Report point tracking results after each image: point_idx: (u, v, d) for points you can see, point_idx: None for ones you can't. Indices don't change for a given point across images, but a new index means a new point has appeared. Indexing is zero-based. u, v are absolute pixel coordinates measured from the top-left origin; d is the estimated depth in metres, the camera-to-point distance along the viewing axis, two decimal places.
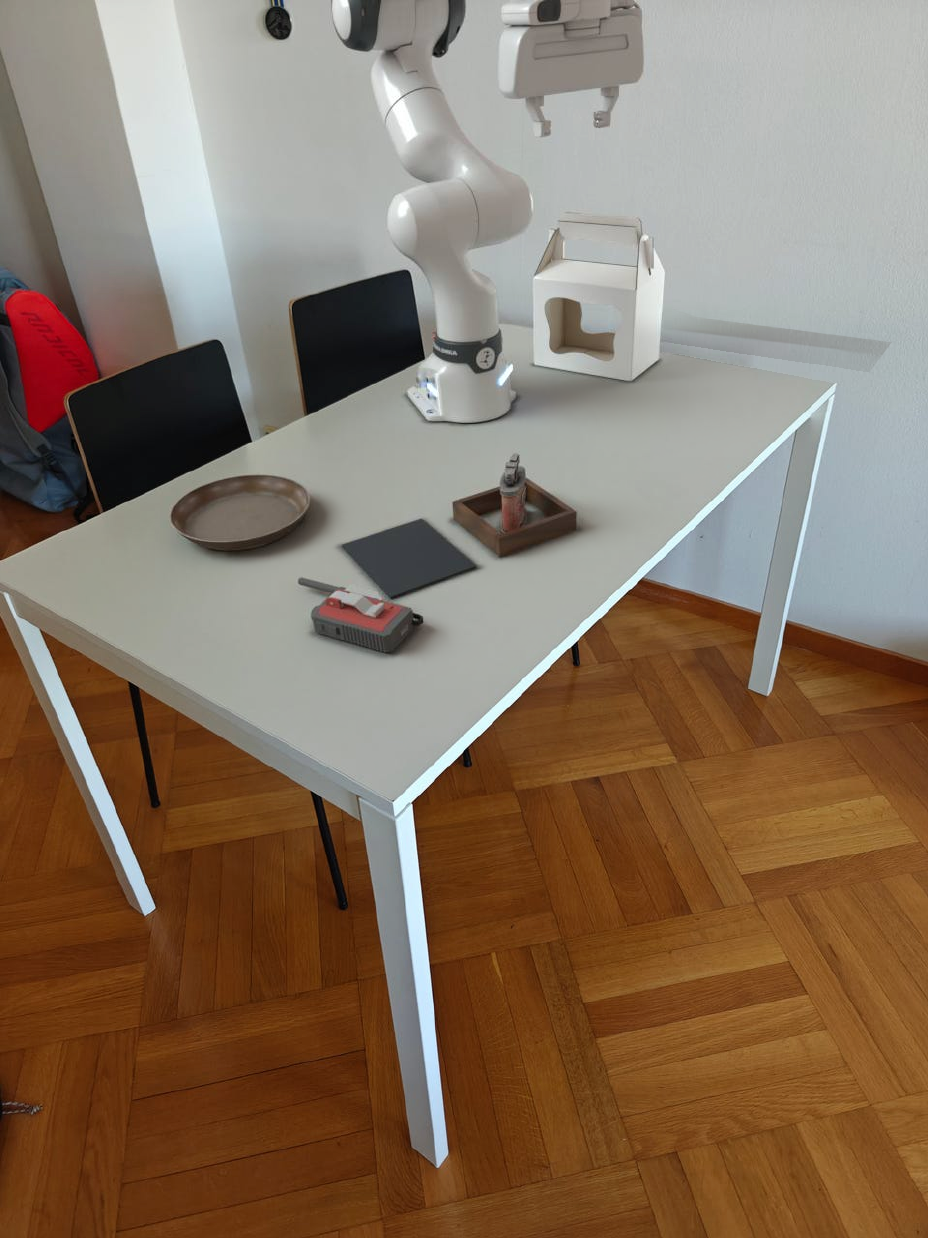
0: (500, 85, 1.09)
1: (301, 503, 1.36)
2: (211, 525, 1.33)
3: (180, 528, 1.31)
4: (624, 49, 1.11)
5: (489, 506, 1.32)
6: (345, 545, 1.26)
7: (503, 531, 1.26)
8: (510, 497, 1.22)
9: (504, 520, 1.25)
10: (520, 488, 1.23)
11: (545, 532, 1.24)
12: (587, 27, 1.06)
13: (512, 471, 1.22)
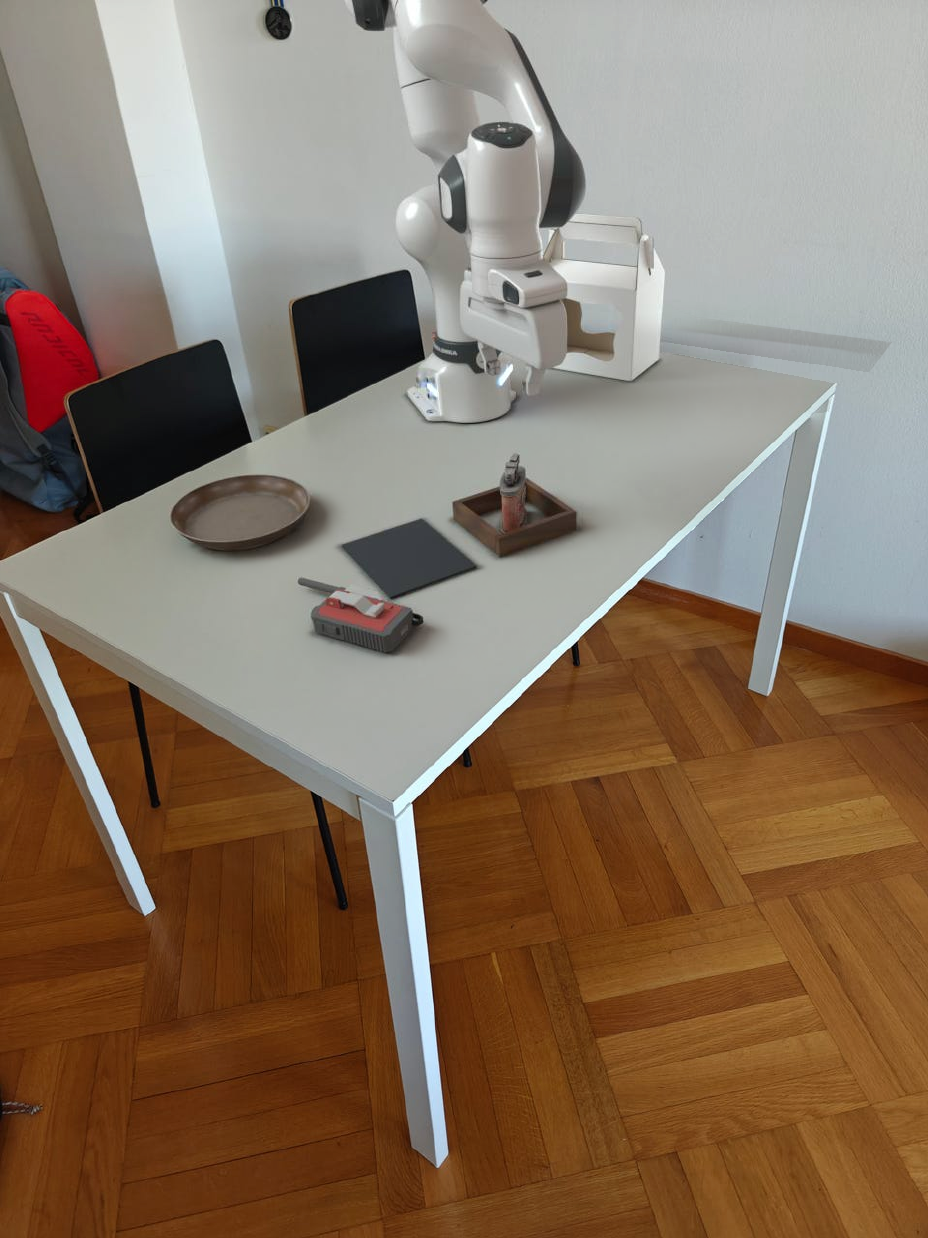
0: (546, 360, 1.06)
1: (301, 503, 1.36)
2: (211, 525, 1.33)
3: (180, 528, 1.31)
4: None
5: (489, 506, 1.32)
6: (345, 545, 1.26)
7: (503, 531, 1.26)
8: (510, 497, 1.22)
9: (504, 520, 1.25)
10: (520, 488, 1.23)
11: (545, 532, 1.24)
12: None
13: (512, 471, 1.22)
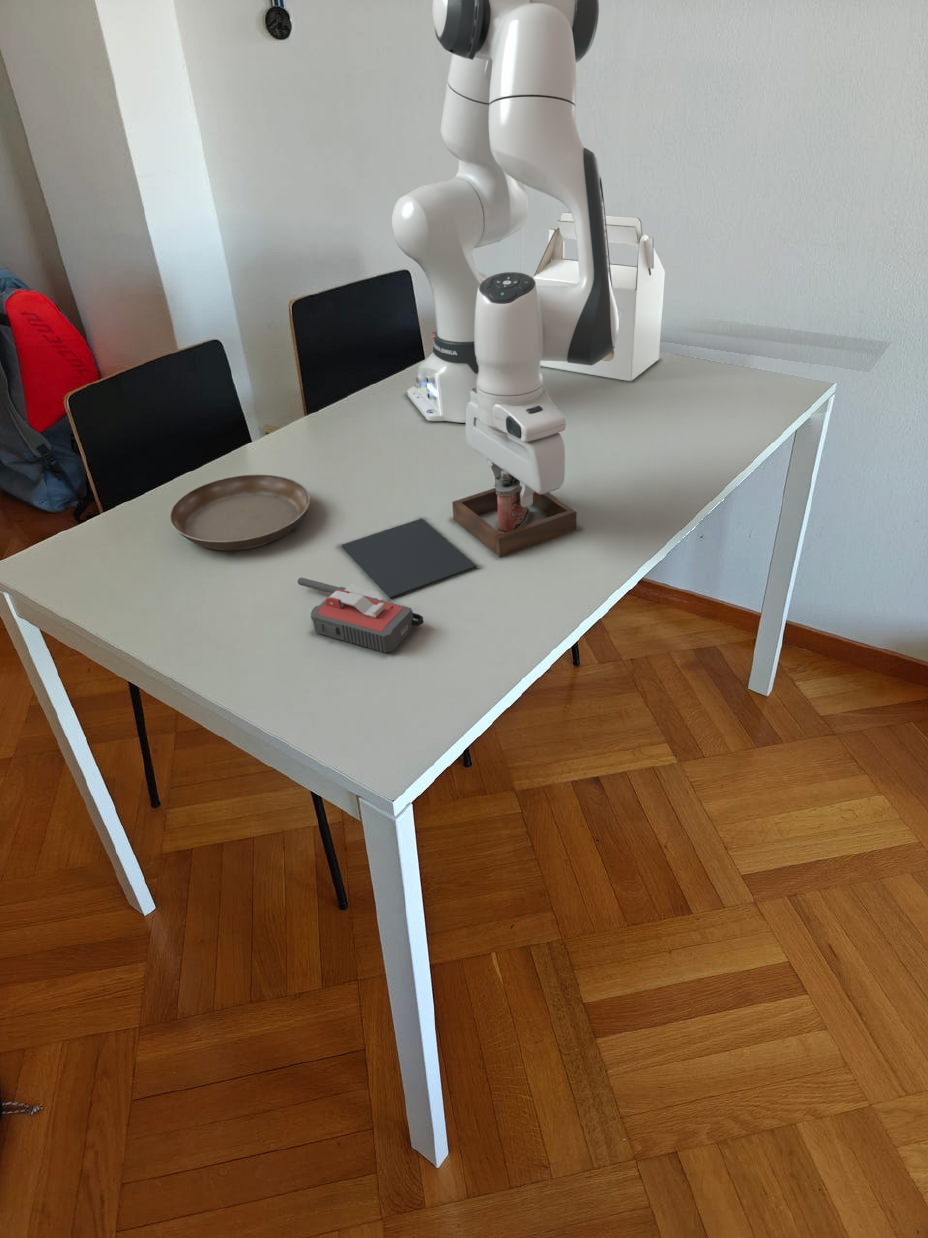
0: (545, 487, 1.15)
1: (301, 503, 1.36)
2: (211, 525, 1.33)
3: (180, 528, 1.31)
4: None
5: (489, 506, 1.32)
6: (345, 545, 1.26)
7: (498, 530, 1.26)
8: (504, 496, 1.23)
9: (499, 519, 1.25)
10: (516, 489, 1.23)
11: (545, 532, 1.24)
12: None
13: None
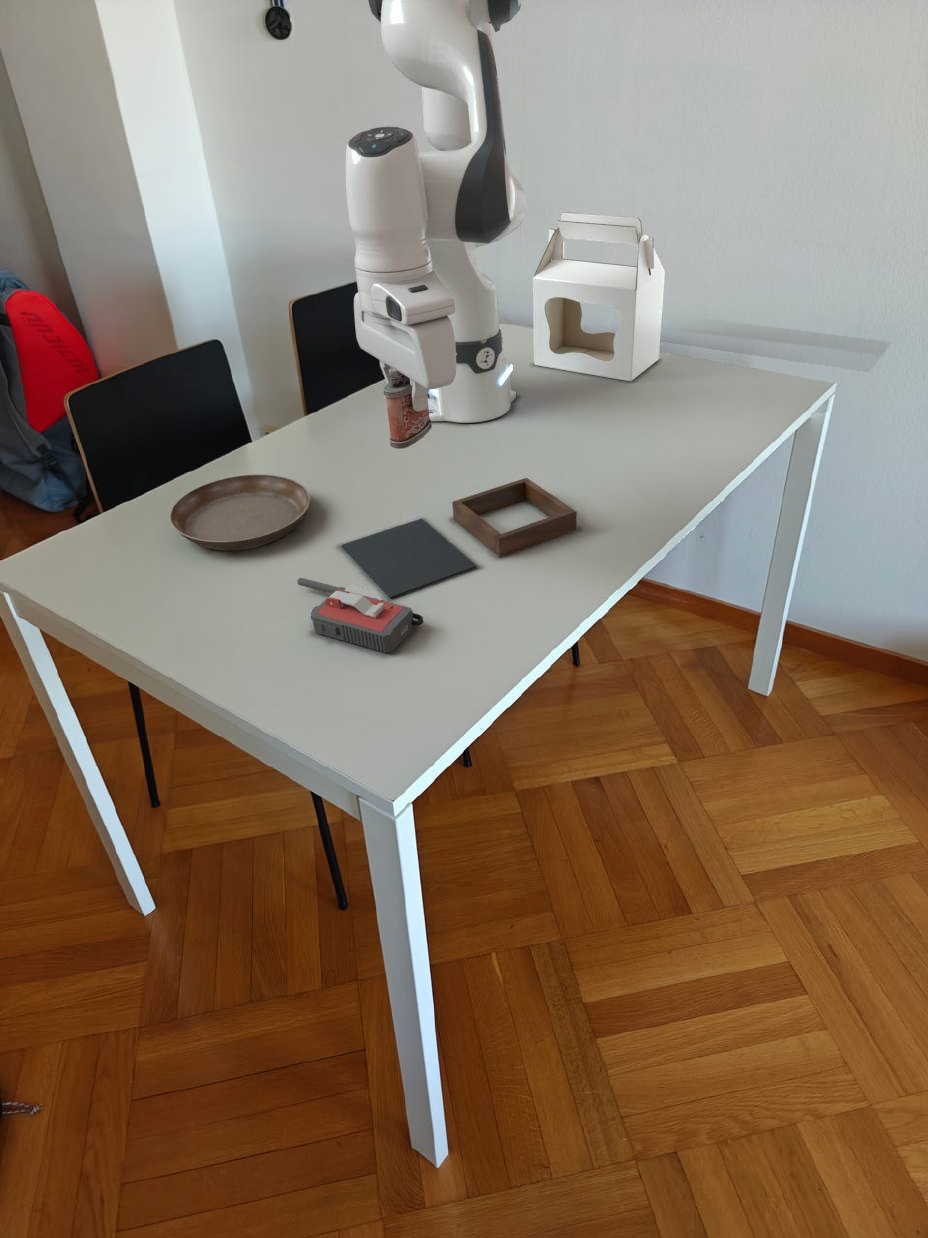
0: (433, 380, 1.00)
1: (301, 503, 1.36)
2: (211, 525, 1.33)
3: (180, 528, 1.30)
4: None
5: (489, 506, 1.32)
6: (345, 545, 1.26)
7: (390, 439, 1.11)
8: (392, 398, 1.07)
9: (390, 426, 1.10)
10: (406, 390, 1.08)
11: (545, 532, 1.24)
12: None
13: None
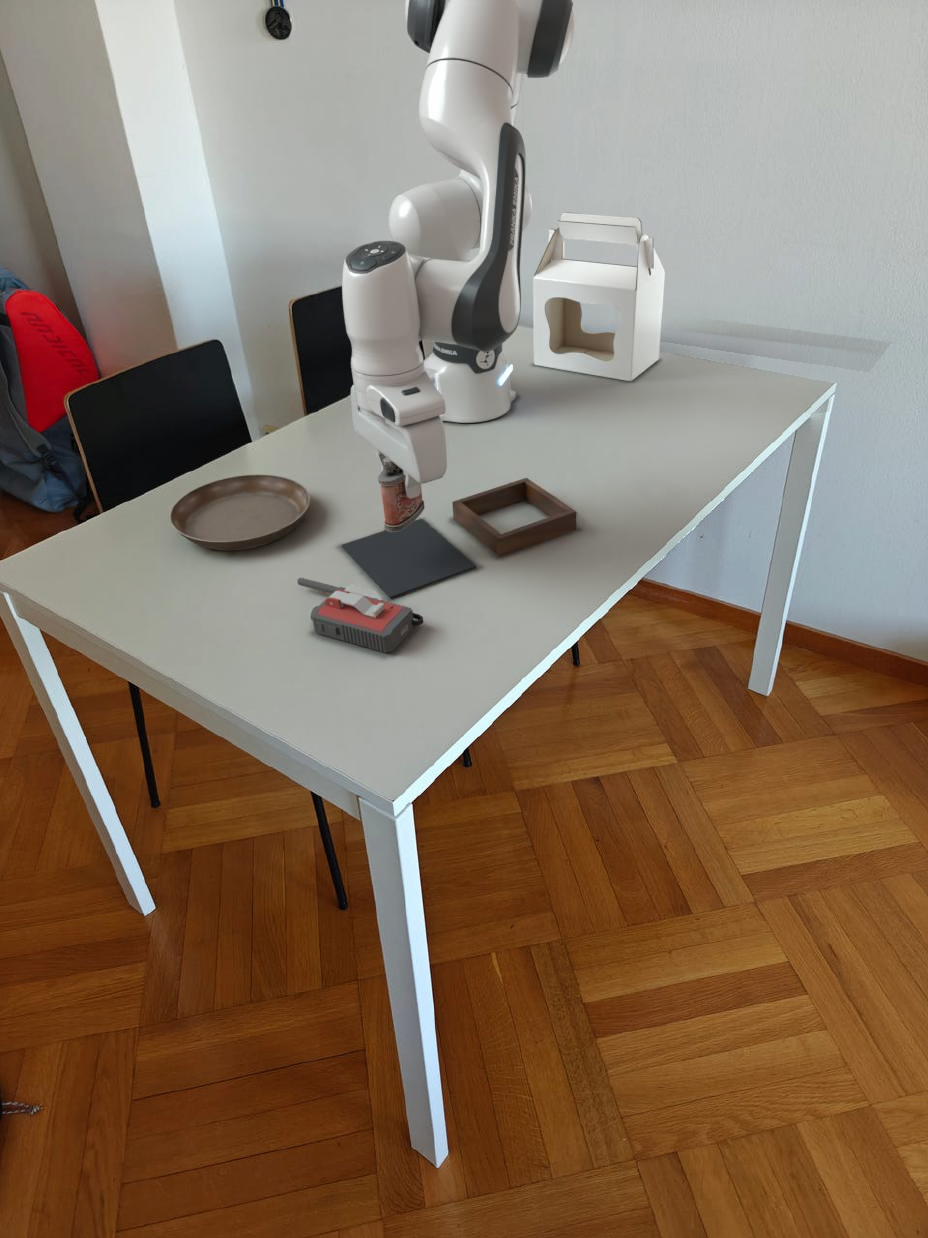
0: (425, 475, 1.06)
1: (301, 503, 1.36)
2: (211, 525, 1.33)
3: (180, 528, 1.31)
4: None
5: (489, 506, 1.32)
6: (345, 545, 1.26)
7: (384, 523, 1.17)
8: (386, 486, 1.13)
9: (384, 511, 1.16)
10: (400, 478, 1.13)
11: (545, 532, 1.24)
12: None
13: None
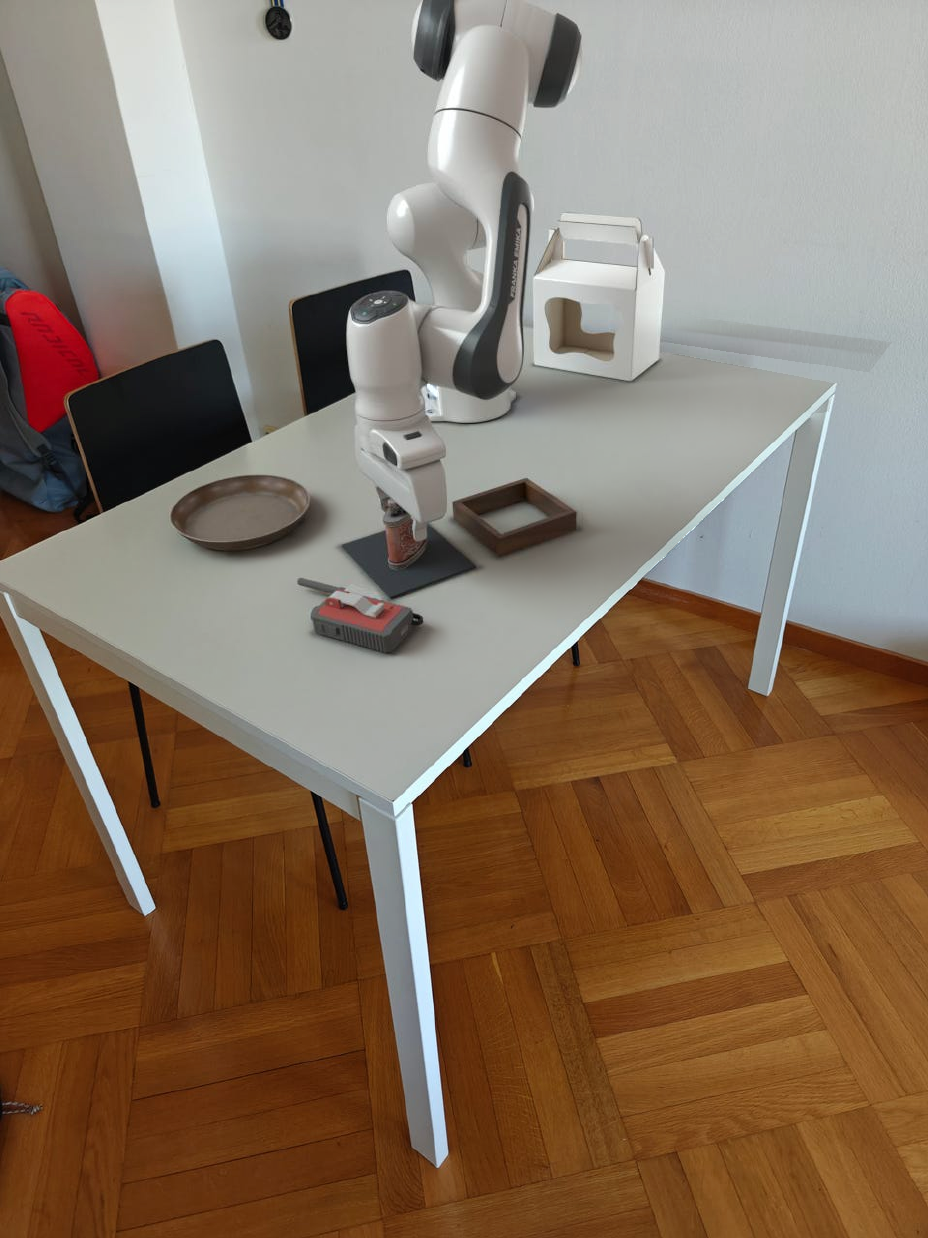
0: (426, 517, 1.09)
1: (301, 503, 1.36)
2: (211, 525, 1.33)
3: (180, 528, 1.31)
4: None
5: (489, 506, 1.32)
6: (345, 545, 1.26)
7: (388, 560, 1.21)
8: (391, 527, 1.17)
9: (388, 549, 1.19)
10: (404, 519, 1.17)
11: (545, 532, 1.24)
12: None
13: None
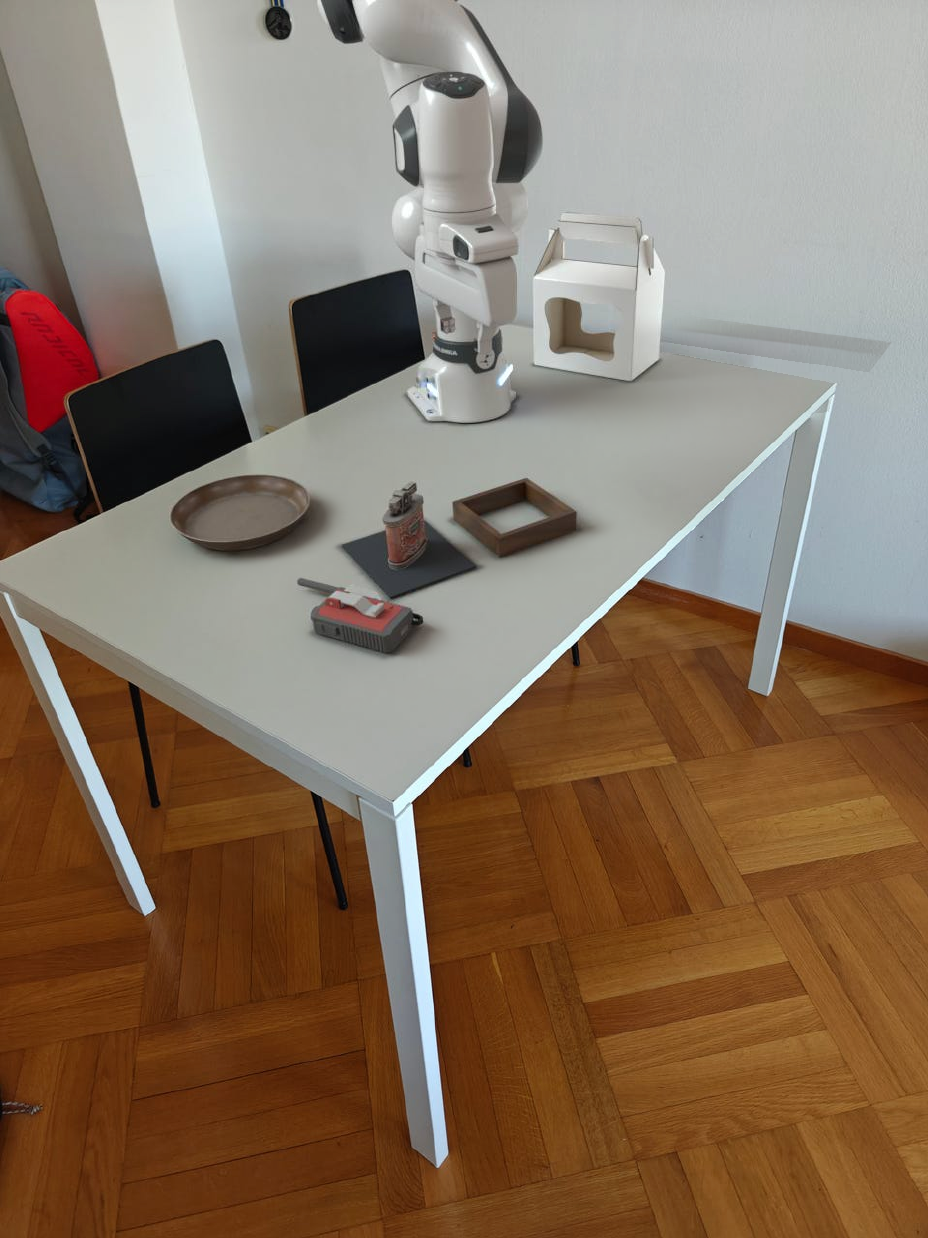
0: (496, 317, 1.05)
1: (301, 503, 1.36)
2: (211, 525, 1.33)
3: (180, 528, 1.31)
4: None
5: (489, 506, 1.32)
6: (345, 545, 1.26)
7: (388, 560, 1.21)
8: (391, 527, 1.17)
9: (388, 549, 1.19)
10: (404, 519, 1.17)
11: (545, 532, 1.24)
12: None
13: (396, 500, 1.16)
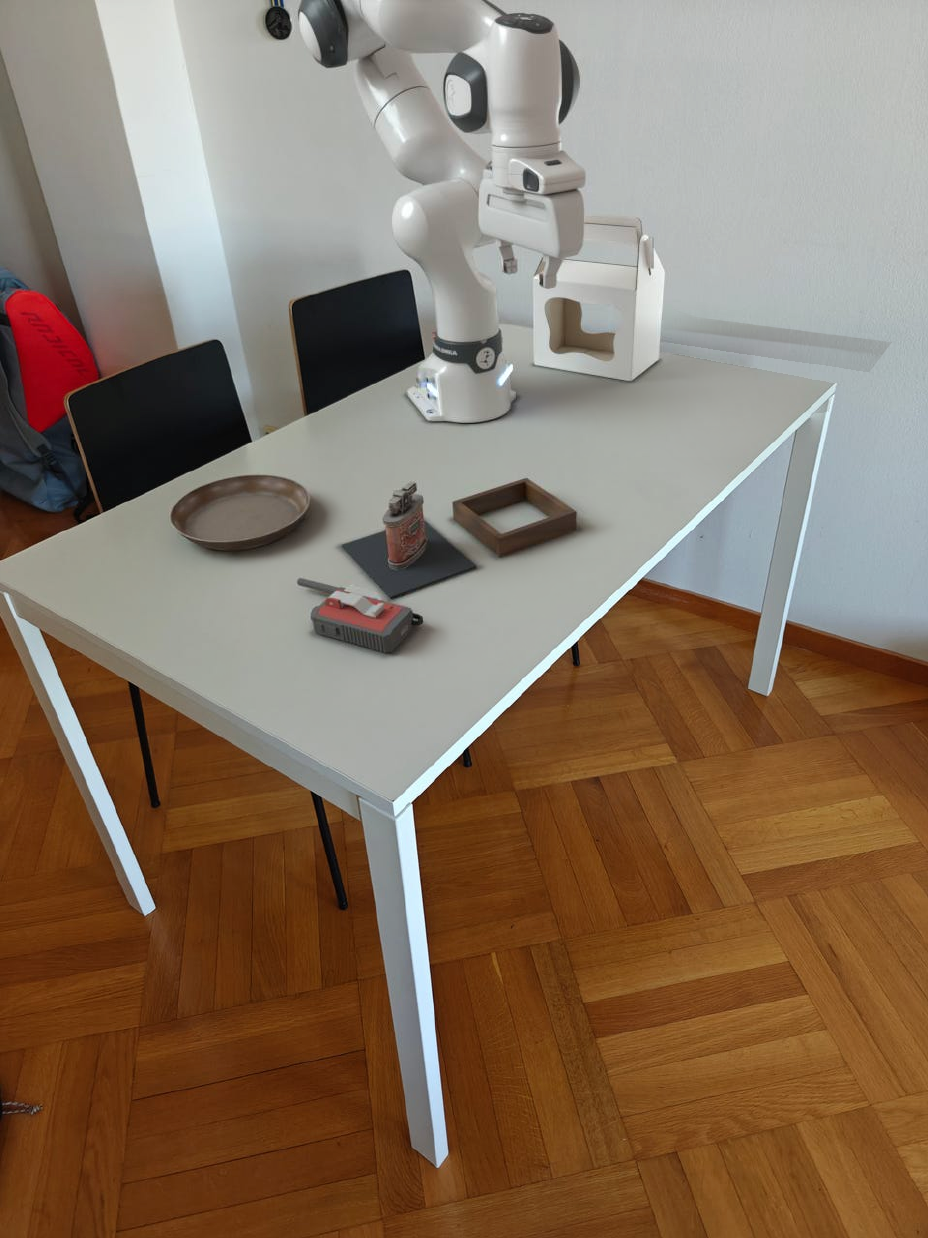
0: (564, 248, 1.10)
1: (301, 503, 1.36)
2: (211, 525, 1.33)
3: (180, 528, 1.31)
4: None
5: (489, 506, 1.32)
6: (345, 545, 1.26)
7: (388, 560, 1.21)
8: (391, 527, 1.17)
9: (388, 549, 1.19)
10: (404, 519, 1.17)
11: (545, 532, 1.24)
12: None
13: (396, 500, 1.16)
